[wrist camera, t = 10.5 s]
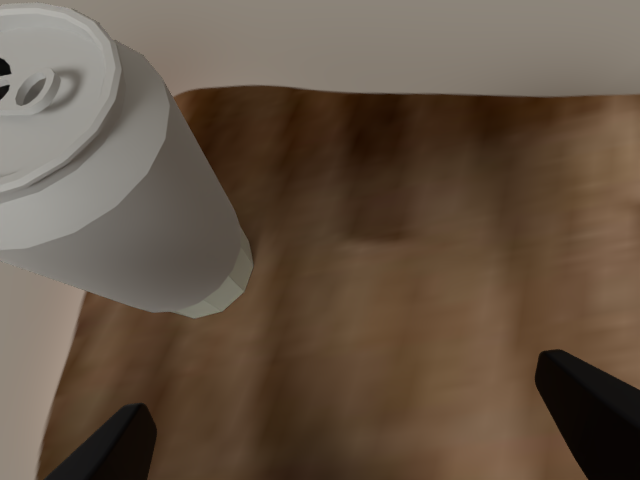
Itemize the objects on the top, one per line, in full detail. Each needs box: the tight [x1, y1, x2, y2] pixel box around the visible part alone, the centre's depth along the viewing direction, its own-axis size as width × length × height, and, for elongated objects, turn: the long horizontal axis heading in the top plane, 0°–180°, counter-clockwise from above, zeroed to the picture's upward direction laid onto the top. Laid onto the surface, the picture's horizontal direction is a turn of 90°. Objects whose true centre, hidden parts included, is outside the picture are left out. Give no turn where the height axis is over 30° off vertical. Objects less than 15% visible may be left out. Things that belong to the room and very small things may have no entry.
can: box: [0, 2, 241, 313], centre depth 14 cm, size 8×8×12 cm
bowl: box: [173, 227, 254, 319], centre depth 22 cm, size 7×7×4 cm
